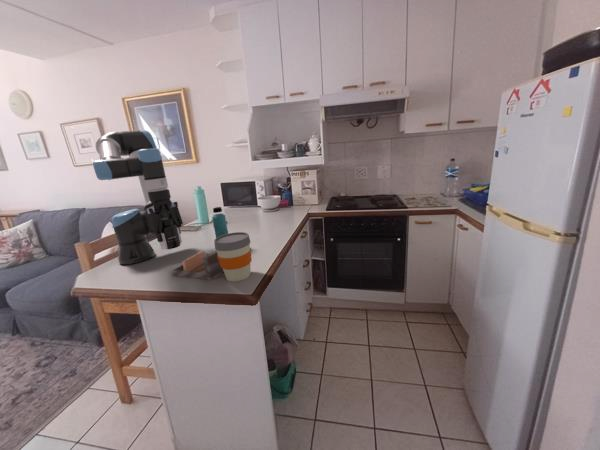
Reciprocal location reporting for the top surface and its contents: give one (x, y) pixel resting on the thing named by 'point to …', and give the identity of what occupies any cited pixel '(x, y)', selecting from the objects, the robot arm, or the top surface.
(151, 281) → the top surface
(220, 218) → the beverage bottle
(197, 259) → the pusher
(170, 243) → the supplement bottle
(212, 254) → the grey stand
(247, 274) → the reusable coffee cup
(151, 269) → the top surface
